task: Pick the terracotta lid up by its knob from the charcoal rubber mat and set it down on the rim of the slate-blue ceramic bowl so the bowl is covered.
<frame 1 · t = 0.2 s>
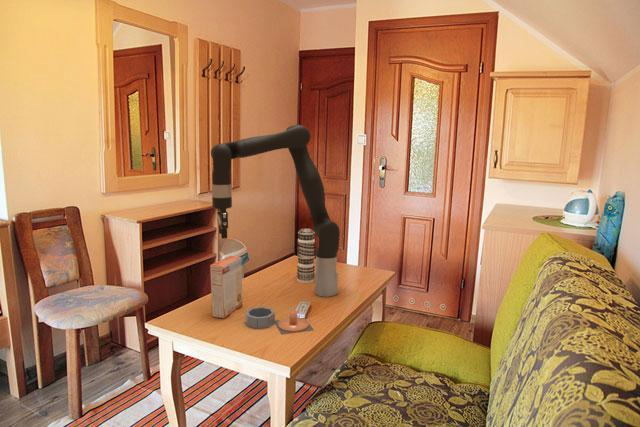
hand: (223, 235, 172), 29 cm above the table, fingers open, 8 cm apart
mat: (293, 326, 158), on the table
cracker box: (227, 312, 171), on the table
decorative candle: (305, 280, 210), on the table
bowl: (260, 323, 160), on the table
lid: (293, 325, 158), point 1 cm above the table, touching mat
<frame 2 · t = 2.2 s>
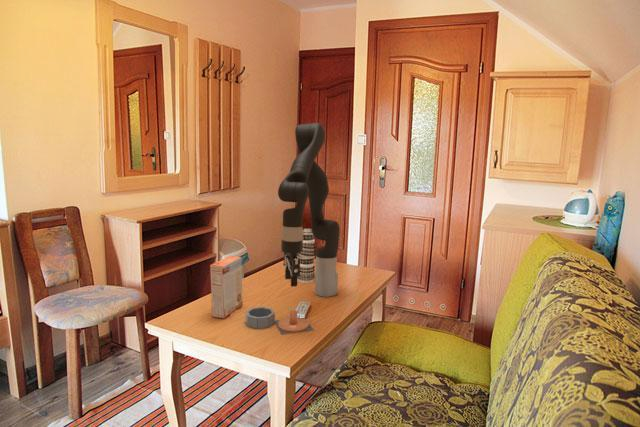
hand: (290, 282, 156), 17 cm above the table, fingers open, 8 cm apart
nothing on the table moved.
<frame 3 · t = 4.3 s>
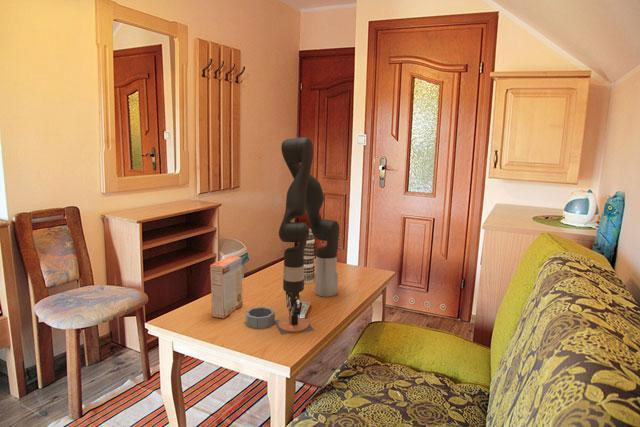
hand: (293, 322, 158), 2 cm above the table, fingers closed on lid, 2 cm apart
lid: (293, 325, 158), point 1 cm above the table, touching gripper, mat
everything else where it was.
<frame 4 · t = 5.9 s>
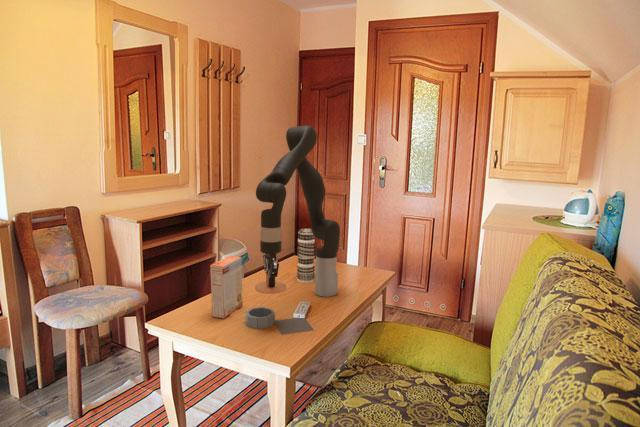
hand: (270, 285, 156), 15 cm above the table, fingers closed on lid, 2 cm apart
lid: (270, 288, 156), point 14 cm above the table, touching gripper
everything else where it was.
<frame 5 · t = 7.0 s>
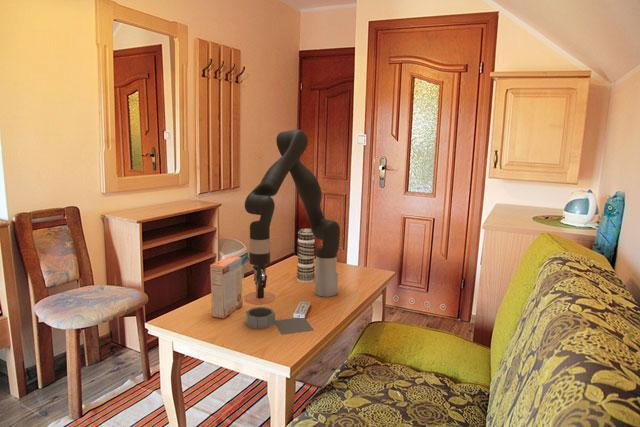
hand: (259, 295, 158), 11 cm above the table, fingers closed on lid, 2 cm apart
lid: (259, 298, 158), point 10 cm above the table, touching gripper
everything else where it was.
when the fingers open (7 cm above the table, at t = 7.9 s): lid drops 1 cm, resting on bowl.
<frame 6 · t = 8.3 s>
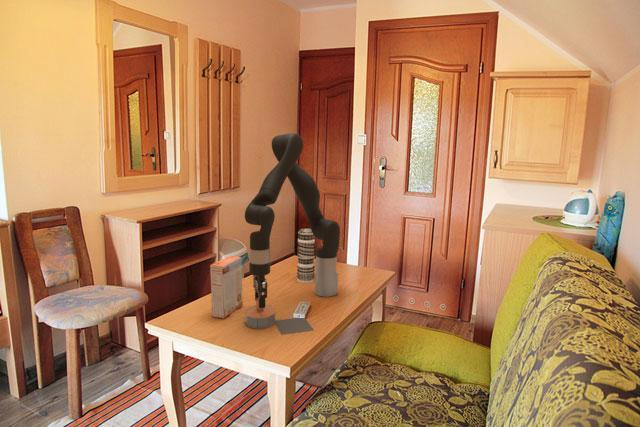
hand: (260, 304, 159), 8 cm above the table, fingers open, 6 cm apart
lid: (260, 312, 159), point 4 cm above the table, touching bowl
everything else where it was.
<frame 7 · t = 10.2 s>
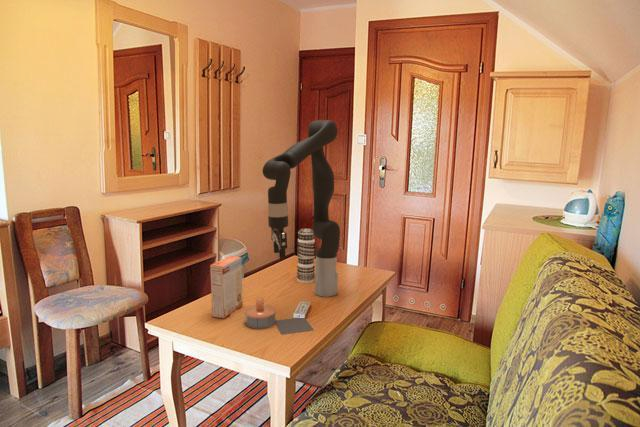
hand: (279, 255, 166), 23 cm above the table, fingers open, 8 cm apart
nothing on the table moved.
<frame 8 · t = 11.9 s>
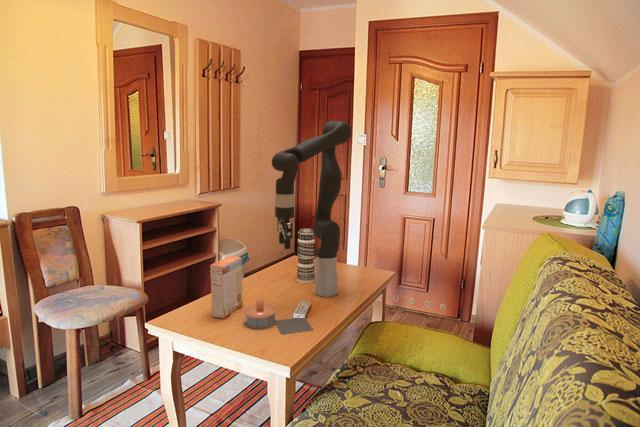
hand: (284, 246, 170), 26 cm above the table, fingers open, 8 cm apart
nothing on the table moved.
at the end: lid 0.0 cm off-centre on the bowl, point 4.5 cm above the bowl's base; lid tilted 0°; the gripper is holding nothing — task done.
